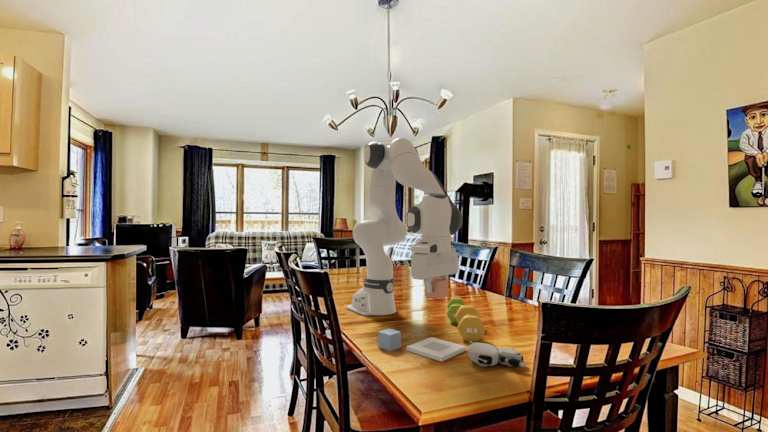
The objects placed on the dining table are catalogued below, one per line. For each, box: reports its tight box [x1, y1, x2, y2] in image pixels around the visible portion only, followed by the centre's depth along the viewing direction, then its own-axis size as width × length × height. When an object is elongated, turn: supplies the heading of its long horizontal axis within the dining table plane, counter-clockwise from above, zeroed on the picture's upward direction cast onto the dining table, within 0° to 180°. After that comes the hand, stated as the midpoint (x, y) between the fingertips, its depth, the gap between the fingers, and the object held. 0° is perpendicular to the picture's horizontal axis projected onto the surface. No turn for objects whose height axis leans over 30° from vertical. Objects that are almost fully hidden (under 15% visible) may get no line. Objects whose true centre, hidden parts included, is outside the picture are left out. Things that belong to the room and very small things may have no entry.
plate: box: [405, 336, 467, 363], centre depth 120 cm, size 13×13×1 cm
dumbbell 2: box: [455, 304, 486, 343], centre depth 137 cm, size 19×9×8 cm, turn 172°
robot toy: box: [467, 341, 527, 369], centre depth 110 cm, size 12×4×15 cm
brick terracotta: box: [424, 277, 449, 300], centre depth 120 cm, size 5×5×5 cm
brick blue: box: [377, 328, 402, 352], centre depth 122 cm, size 5×5×5 cm
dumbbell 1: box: [446, 297, 467, 325], centre depth 157 cm, size 16×8×7 cm, turn 170°
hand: (436, 291), depth 120 cm, fingers closed on brick terracotta, 5 cm apart
